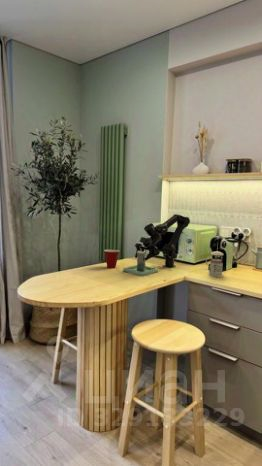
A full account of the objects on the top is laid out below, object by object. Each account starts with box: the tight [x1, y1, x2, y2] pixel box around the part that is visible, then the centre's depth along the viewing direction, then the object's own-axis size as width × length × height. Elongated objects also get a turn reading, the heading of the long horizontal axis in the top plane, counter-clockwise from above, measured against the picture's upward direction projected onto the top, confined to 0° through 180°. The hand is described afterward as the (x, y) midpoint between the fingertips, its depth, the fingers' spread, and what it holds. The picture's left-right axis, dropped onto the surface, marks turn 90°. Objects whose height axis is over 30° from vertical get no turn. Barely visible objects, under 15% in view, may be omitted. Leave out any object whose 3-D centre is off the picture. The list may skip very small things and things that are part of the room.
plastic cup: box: [103, 249, 121, 269], centre depth 216 cm, size 11×11×12 cm
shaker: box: [136, 250, 147, 272], centre depth 207 cm, size 5×5×13 cm
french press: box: [205, 236, 224, 278], centre depth 205 cm, size 10×12×25 cm
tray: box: [122, 264, 159, 277], centre depth 208 cm, size 16×16×2 cm
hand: (140, 258), depth 206 cm, fingers open, 9 cm apart
